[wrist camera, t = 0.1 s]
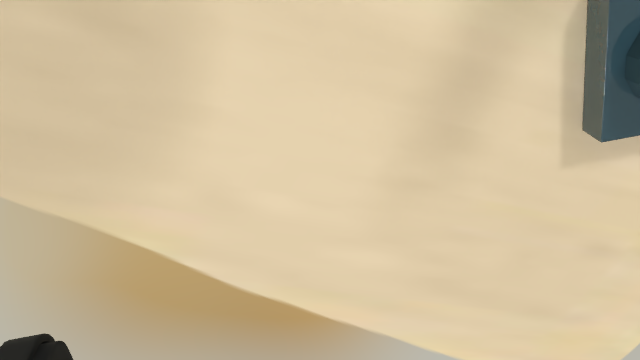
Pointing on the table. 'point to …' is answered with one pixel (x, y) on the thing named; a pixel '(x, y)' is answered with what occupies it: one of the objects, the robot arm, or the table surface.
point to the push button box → (612, 70)
